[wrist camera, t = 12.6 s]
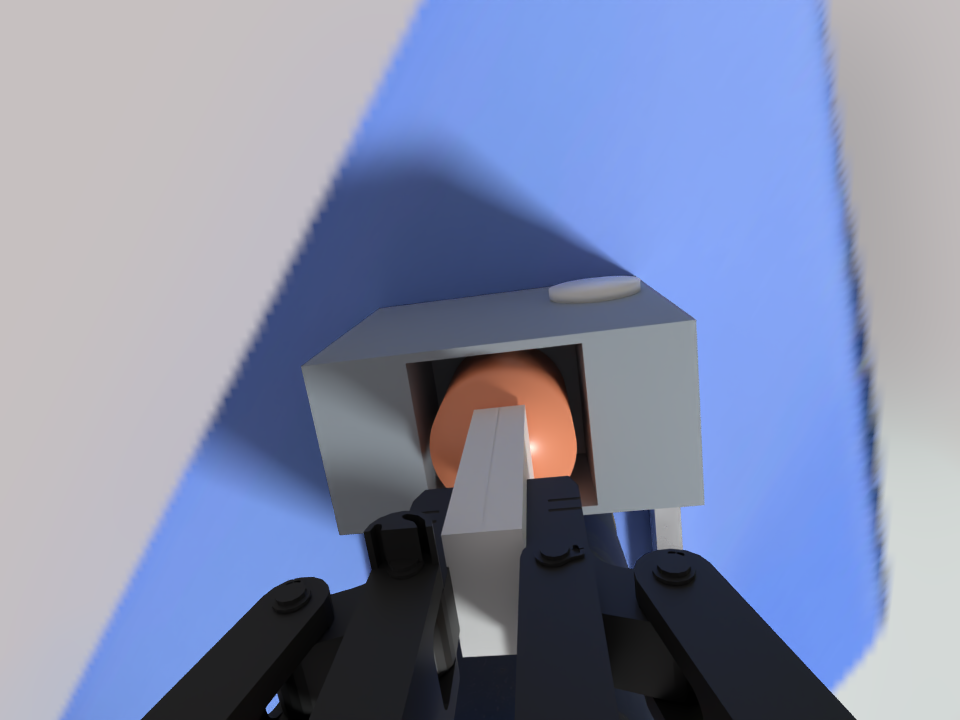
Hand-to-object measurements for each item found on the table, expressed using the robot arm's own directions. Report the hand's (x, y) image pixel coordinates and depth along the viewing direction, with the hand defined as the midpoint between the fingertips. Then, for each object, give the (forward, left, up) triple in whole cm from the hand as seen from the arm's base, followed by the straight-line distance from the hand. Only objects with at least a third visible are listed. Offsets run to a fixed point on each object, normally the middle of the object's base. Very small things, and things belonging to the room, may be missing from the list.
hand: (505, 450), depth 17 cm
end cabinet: (0, 0, -11) cm, 11 cm away
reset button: (0, 0, -5) cm, 5 cm away
